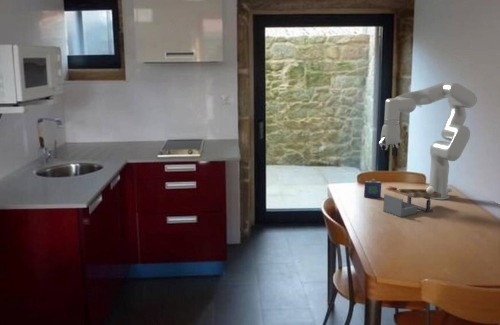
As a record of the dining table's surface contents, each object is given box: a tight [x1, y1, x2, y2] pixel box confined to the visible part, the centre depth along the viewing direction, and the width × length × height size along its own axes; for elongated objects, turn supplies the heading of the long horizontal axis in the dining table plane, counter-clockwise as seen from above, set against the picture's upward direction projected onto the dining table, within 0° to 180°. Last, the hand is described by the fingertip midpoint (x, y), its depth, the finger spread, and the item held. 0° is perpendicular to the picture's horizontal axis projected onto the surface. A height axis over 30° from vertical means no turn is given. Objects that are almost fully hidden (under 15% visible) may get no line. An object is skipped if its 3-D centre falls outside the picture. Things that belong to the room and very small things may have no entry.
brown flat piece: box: [385, 185, 441, 200], centre depth 272 cm, size 21×21×3 cm
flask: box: [363, 178, 382, 199], centre depth 290 cm, size 9×3×11 cm, turn 87°
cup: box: [382, 193, 419, 218], centre depth 263 cm, size 12×12×9 cm
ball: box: [425, 186, 434, 193], centre depth 273 cm, size 4×4×4 cm
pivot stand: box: [406, 196, 433, 214], centre depth 270 cm, size 4×15×6 cm, turn 31°
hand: (389, 156), depth 276 cm, fingers open, 6 cm apart
